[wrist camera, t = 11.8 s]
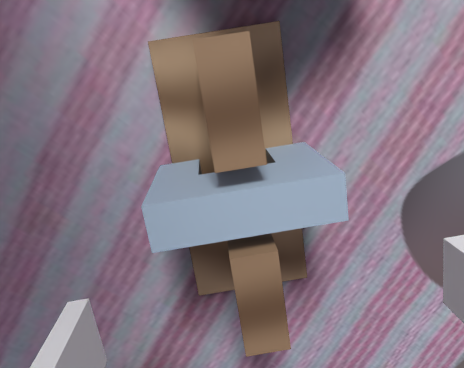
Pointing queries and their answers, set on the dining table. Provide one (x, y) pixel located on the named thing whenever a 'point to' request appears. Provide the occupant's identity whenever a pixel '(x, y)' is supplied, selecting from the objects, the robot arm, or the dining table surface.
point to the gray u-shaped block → (243, 199)
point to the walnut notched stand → (234, 159)
